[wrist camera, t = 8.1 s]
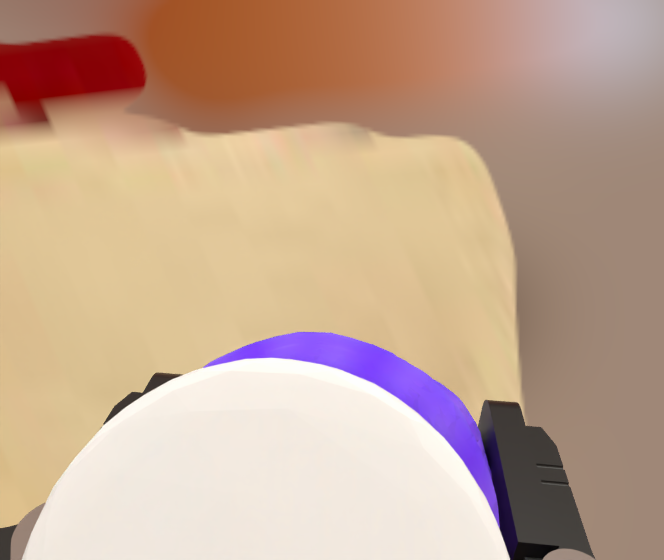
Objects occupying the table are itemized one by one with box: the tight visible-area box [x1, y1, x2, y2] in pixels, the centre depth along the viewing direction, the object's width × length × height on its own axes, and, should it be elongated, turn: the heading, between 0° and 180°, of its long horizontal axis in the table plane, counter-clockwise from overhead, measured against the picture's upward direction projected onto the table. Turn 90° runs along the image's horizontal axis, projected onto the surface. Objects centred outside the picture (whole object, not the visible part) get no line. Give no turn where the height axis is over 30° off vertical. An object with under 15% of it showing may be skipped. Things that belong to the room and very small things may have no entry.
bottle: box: [22, 332, 510, 560], centre depth 12 cm, size 7×6×17 cm
